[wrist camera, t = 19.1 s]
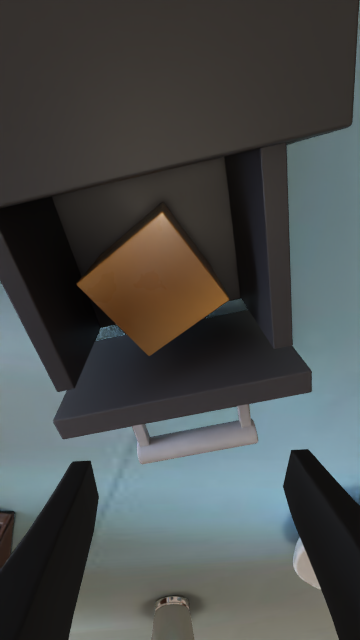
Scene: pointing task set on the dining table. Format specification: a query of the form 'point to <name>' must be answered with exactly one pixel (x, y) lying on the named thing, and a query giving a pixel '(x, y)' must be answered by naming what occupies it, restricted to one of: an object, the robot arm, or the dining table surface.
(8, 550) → the letter holder
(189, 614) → the cup with straw
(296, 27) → the black drawer cabinet
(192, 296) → the block
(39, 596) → the robot arm
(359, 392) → the dining table surface
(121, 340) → the dark grey drawer
